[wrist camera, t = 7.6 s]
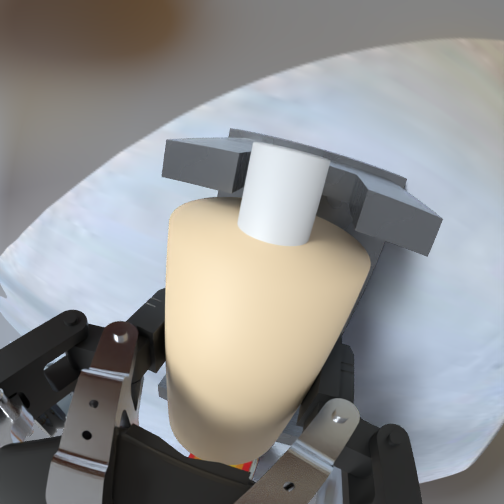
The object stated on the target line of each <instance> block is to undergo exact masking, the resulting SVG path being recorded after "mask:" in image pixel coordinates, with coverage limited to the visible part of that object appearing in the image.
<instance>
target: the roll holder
mask: <svg viewBox="0 0 504 504" xmlns="http://www.w3.org/2000/svg"><path fill="white" fill-rule="evenodd" d="M253 142H260V143H268V144H273V145H279V146H283V147H288V148H292V149H296V150H300V151H304V152H307V153H311V154H314V155H317V156H320V157H323V158H326V159H328V160H330V165H329V169H328V173H327V177H326V180H325V184H324V188H323V192H322V195H321V199H320V202H319V206H318V210H317V213H316V216H318V217H320V218H322V219H325V220H327V221H329V222H331V223H333V224H334V225H336V226H338V227H340V228H341V229H343V230H344V231H346V232H347V233H349V234H350V235H351V236H353V237H354V238H355V239H356V240H357V241H358V242H359V243H360V244H361V245H362V246H363V247H364V248H365V250H366V251H367V253H368V255H369V258H370V262H371V266H370V270H369V273H368V275H367V277H366V280H365V282H364V284H363V287H362V289H361V291H360V293H359V296H358V298H357V300H356V302H355V304H354V306H353V309H352V311H351V313H350V315H349V317H348V319H347V321H346V323H345V325H344V327H343V329H342V331H341V332H342V335H343V333H344V331H345V329H346V327H347V325H348V323H349V321H350V319H351V317H352V315H353V313H354V311H355V309H356V307H357V305H358V303H359V301H360V299H361V297H362V294H363V292H364V290H365V288H366V286H367V284H368V281H369V279H370V277H371V275H372V272H373V270H374V268H375V265H376V263H377V261H378V258H379V256H380V253H381V251H382V248H383V246H384V243H385V241H386V242H389V243H392V244H395V245H398V246H400V247H403V248H406V249H409V250H411V251H414V252H417V253H419V254H422V255H425V256H427V257H428V254H429V252H430V250H431V247H432V245H433V243H434V240H435V238H436V235H437V233H438V230H439V228H440V225H441V223H442V220H443V219H442V218H441V217H440V216H439V215H437V214H436V213H435V212H434V211H432V210H431V209H430V208H429V207H427V206H426V205H425V204H423V203H422V202H421V201H419V200H418V199H417V198H415V197H414V196H413V195H411V194H410V193H408V192H407V191H406V190H404V187H405V184H406V180H407V179H406V178H404V177H402V176H400V175H397V174H394V173H392V172H389V171H387V170H384V169H381V168H378V167H376V166H373V165H370V164H367V163H364V162H361V161H358V160H355V159H352V158H349V157H346V156H343V155H340V154H336V153H333V152H330V151H326V150H323V149H319V148H316V147H312V146H309V145H305V144H301V143H297V142H293V141H289V140H285V139H281V138H277V137H273V136H268V135H264V134H259V133H254V132H249V131H244V130H239V129H231V128H230V132H229V137H228V138H187V139H169V140H166V147H165V154H164V162H163V170H162V177H165V178H170V179H174V180H178V181H182V182H187V183H191V184H195V185H199V186H203V187H207V188H211V189H215V190H219V191H218V196H217V197H240V198H242V196H243V191H244V186H245V181H246V176H247V171H248V166H249V161H250V156H251V151H252V146H253ZM158 391H159V397H161V398H163V399H165V400H167V401H168V398H167V381H166V375H165V376H164V378H163V379H162V380H161V382H160V383H159V385H158ZM300 405H301V404H300ZM299 409H300V406H299V407H298V409H297V410H296V412H295V413H294V415H293V416H292V418H291V420H290V421H289V423H288V424H287V426H286V427H285V428H284V430H283V431H282V433H281V434H280V436H279V437H278V439H277V440H276V442H280V443H283V444H287V445H292V444H293V443H294V442H295V441H296V440H297V439H298V438H299V436H300V435H301V434H302V431H303V427H301V426H297V425H296V423H297V419H298V414H299Z"/></svg>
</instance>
